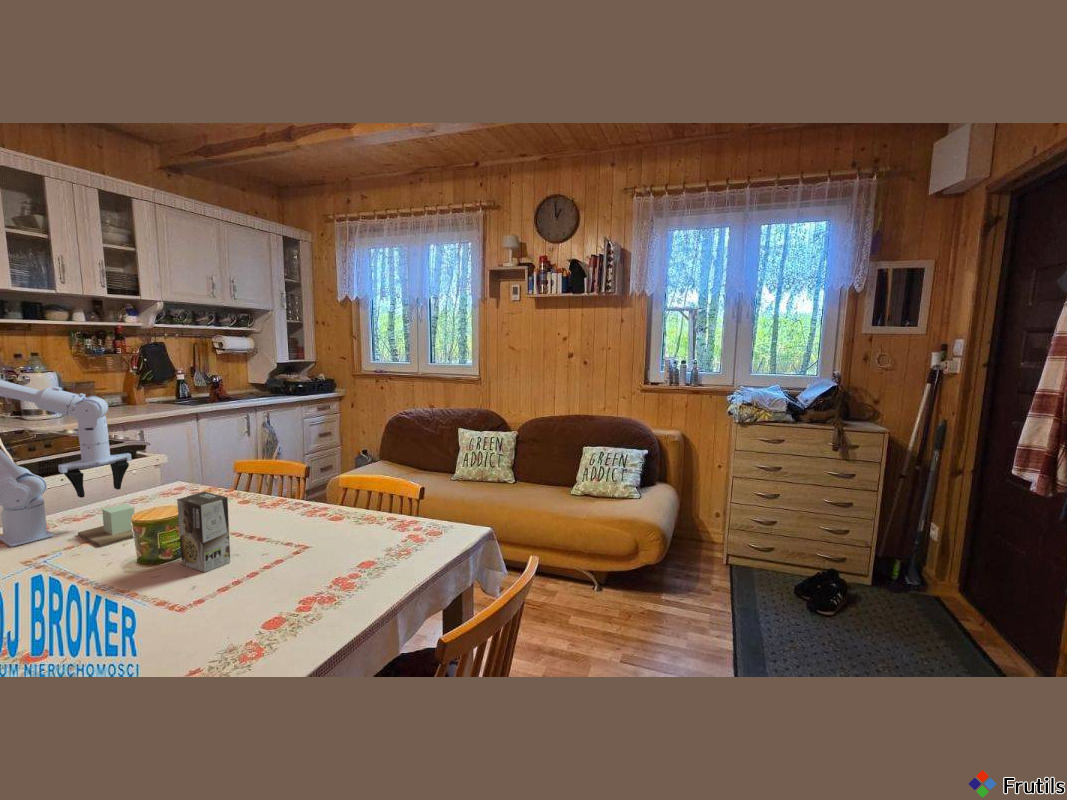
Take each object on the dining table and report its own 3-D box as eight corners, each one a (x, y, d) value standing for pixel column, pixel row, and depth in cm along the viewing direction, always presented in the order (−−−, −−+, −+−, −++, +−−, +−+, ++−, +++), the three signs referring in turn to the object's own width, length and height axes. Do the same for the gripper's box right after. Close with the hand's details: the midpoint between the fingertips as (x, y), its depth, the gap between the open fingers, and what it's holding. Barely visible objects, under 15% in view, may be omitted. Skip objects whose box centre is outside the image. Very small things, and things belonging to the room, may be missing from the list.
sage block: (103, 530, 127) (102, 509, 127) (126, 524, 132) (125, 503, 131) (112, 535, 125) (110, 513, 124) (135, 528, 129) (134, 507, 129)
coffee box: (232, 561, 115) (229, 497, 113) (204, 573, 109) (200, 505, 107) (208, 553, 119) (204, 490, 117) (179, 564, 113) (176, 498, 111)
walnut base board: (78, 535, 126) (77, 532, 126) (137, 519, 137) (137, 517, 137) (100, 547, 120) (99, 544, 120) (160, 530, 131) (160, 527, 131)
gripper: (64, 450, 118) (70, 503, 120) (134, 439, 131) (139, 487, 133) (52, 446, 122) (58, 498, 124) (122, 436, 134) (127, 483, 136)
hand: (99, 492), depth 129 cm, fingers open, 7 cm apart
